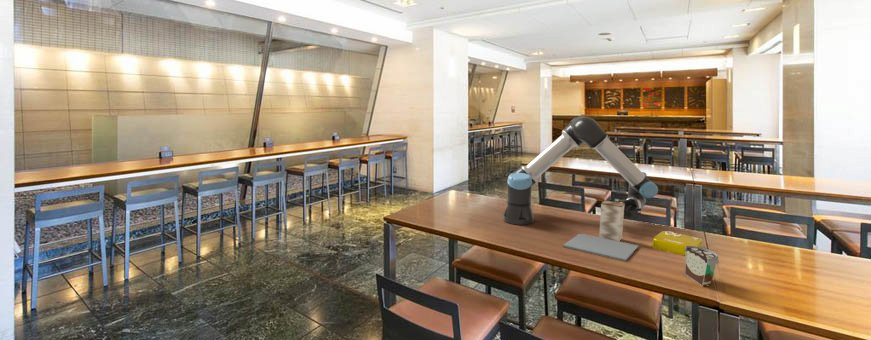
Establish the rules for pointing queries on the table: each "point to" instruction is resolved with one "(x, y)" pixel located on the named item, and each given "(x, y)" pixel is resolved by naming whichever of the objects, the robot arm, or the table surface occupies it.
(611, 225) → the tall block
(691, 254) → the food container
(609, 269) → the table surface
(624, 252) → the mat
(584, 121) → the robot arm
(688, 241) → the element tile
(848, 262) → the table surface
